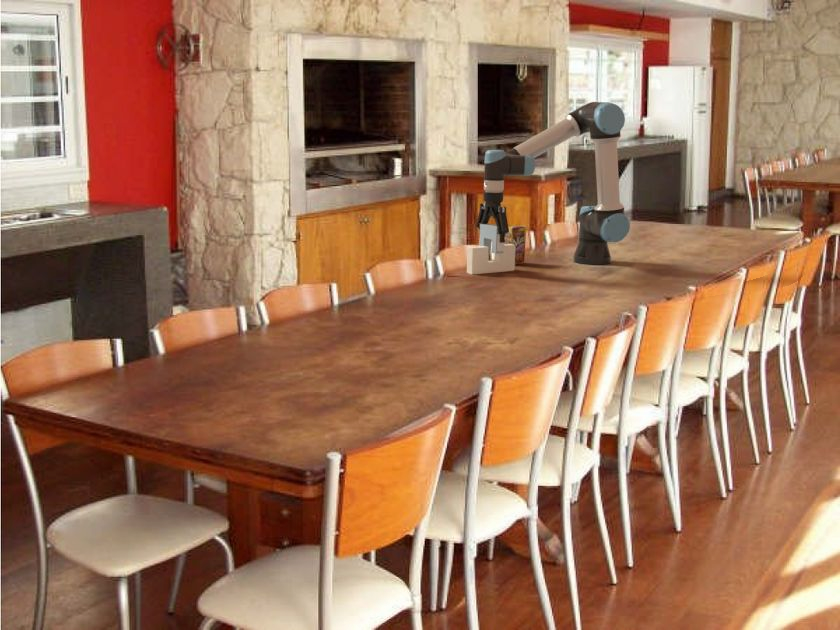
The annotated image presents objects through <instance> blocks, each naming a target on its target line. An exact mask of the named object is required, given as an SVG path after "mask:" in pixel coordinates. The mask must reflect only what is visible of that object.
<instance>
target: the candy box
mask: <svg viewBox="0 0 840 630" xmlns="http://www.w3.org/2000/svg"><path fill="white" fill-rule="evenodd" d="M508 228H509V233H506V234H505V242H504V244H513V245H515V265H520V264H525V255H526V253H525V252H526V240H527V239H526V237H527V236H526V235H527V226H526V225H522V224H521V225H511V226H509V225H508ZM505 230H506V229H505Z"/></svg>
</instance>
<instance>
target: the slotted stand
mask: <svg viewBox="0 0 840 630" xmlns="http://www.w3.org/2000/svg"><path fill="white" fill-rule="evenodd" d="M466 249H467V250H466V253H467V254H466V258H467V259H466V274H469V275H479V274H480V275H481V274H489V273H491V274H493V273H501V272H502V273H504V272H513V271H515V266H516V264H515V245H513V244H504V251H503V253H500V254H495V253H494V260H493V259H492V260H489V250H488V247H486V246H479V245H477V246H467V248H466ZM515 272H516V271H515Z"/></svg>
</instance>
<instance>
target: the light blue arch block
mask: <svg viewBox="0 0 840 630" xmlns="http://www.w3.org/2000/svg"><path fill="white" fill-rule="evenodd" d="M479 224H480V223H479ZM501 231H502V230H501ZM498 232H499V231H498V227H497V225H496V224H491V223H488V224H480V242H478V246H486V247H488V251H491V254H494V255H495V254H500V253H503V251H497V234H498Z"/></svg>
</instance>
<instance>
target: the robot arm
mask: <svg viewBox="0 0 840 630" xmlns="http://www.w3.org/2000/svg"><path fill="white" fill-rule="evenodd" d="M625 123H626V118H625V113H624V111H623V109H622V108H621V107H620V106H619V105H617V104H616V103H612V102H610V101H609V102H607V101H606V102H605V101H591V102H588V103H585V104H584V105H582V106H580V107H578V108H576V109H575V110H573V111H571V112H569V113H567V115H565V118H564V119H562V120H561V121H559V122H557V123H555V124H553V125H552V126H550V127H548V128H546V129H544V130H543V131H541V132H539V133H537V134H536V135H533V136H532V137H531V138H529V139H527V140H525V141H524V142H521V143H519V144H518V145H516V146H514V147H513V148H510V149H509V150H507V151H505V150H502V149H488V150H486V152H485V154H484V163H483V164H484V169H483V170H484V175H483V190H484V191H483V194H482V195H483V202H484V203H483V202H482V203H479V212H478V215H477V219H476V224H475V227H476V228H478V232H479V233H478V235H479V240H478V241H479V242H480V224H489V221H490V219H491V217H492V218H493V219H494V222H495V225H497V227H498V231H499V232H498V234H497V251H504V242H505V234H506V233H509V228H508V227H509V224H508V216H507V207H506V206H502V202H504V192H503V191H504V189H505V188H504V187H505V186H504V185H505V176H522V177H523V176H524V177H526V176H532V175H533V174H534V173H535V169H536V162H535V158H537V157H539V156H541V155H542V154H544V153H545V152H548V151H550V150H551V149H553V148H555V147H557V146H559V145H560V144H562V143H564V142H566V141H567V140H569V139H571V138H572V137H580V136H581V135H583V134H587V133H589V137H590V141H592V142H593V143H594V158H595V159H594V160H595V174H596V179H595V180H596V193H597V194H596V195H597V205H587V206H585V205H583V206H582V207H581V208H580V211H579V212H580V213H579V226H578V227H579V228H578V229H579V230H578V242H577V246H576V249H575V250H574V251H575V252H574V254H573V259H572V260H573V262H575V263H578V264H583V265H608V264H610V263H611V262H612V261H611V259H612V257H611V252H610V249H609V245H608V243H619V242H621V241H622V240H624V239H625V238H626V236H628V234H629V232H630V229H631V227H630V226H631V223H630V220H629V218H628V216H627V215H626V214H625V205H623V204H622V202H621V200H620V199H621V198H620V197H621V196H620V181H619V180H620V179H619V177H620V176H619V159H618V157H619V155H618V140H620V139H621V131H622V128H623V127H624V126H625ZM505 229H506V230H505ZM501 230H502V231H501ZM479 242H478V243H479Z"/></svg>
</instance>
